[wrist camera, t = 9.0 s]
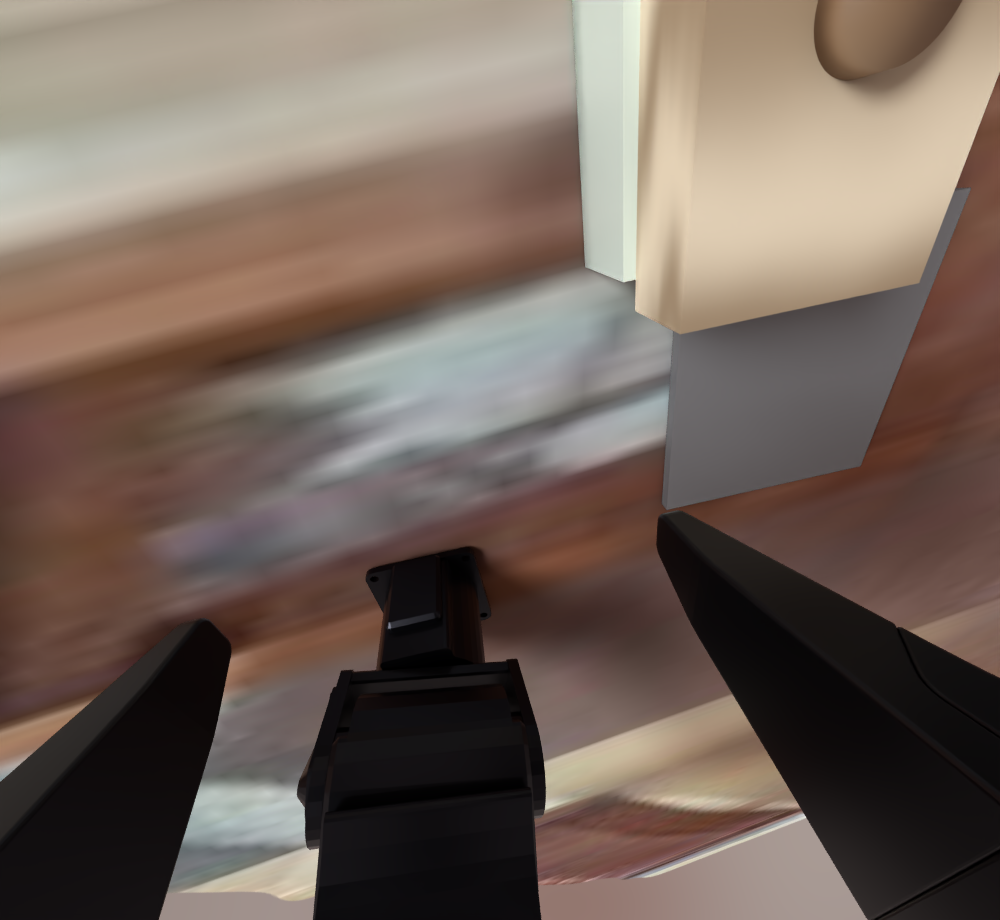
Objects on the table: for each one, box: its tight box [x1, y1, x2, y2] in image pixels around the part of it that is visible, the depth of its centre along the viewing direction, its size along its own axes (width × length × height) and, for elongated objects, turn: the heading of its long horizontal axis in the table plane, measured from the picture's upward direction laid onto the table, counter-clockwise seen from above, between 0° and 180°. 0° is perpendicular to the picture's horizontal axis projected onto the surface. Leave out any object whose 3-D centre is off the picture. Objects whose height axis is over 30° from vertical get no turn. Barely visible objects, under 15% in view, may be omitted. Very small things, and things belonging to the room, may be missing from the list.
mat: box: [662, 188, 971, 510], centre depth 20 cm, size 14×12×1 cm
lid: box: [635, 0, 1000, 334], centre depth 9 cm, size 12×7×4 cm, turn 10°
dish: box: [572, 0, 640, 282], centre depth 12 cm, size 10×8×4 cm
